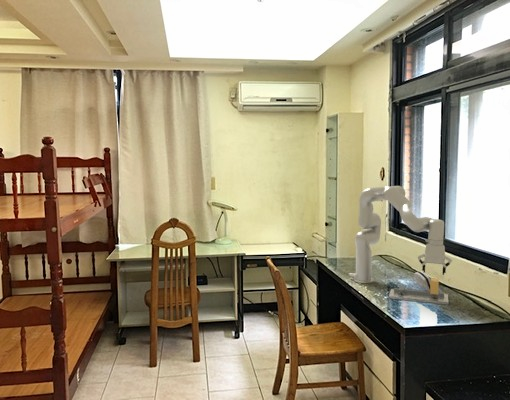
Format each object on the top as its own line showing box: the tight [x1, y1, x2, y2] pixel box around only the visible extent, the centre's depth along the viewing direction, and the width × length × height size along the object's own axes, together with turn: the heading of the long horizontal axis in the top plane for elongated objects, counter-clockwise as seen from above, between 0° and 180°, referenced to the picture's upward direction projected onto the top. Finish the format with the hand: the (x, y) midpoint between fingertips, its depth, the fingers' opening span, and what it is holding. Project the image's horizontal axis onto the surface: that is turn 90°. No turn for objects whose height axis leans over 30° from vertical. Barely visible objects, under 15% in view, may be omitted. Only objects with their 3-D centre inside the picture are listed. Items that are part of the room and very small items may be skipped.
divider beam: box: [393, 285, 445, 297], centre depth 241 cm, size 26×7×3 cm, turn 68°
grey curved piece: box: [413, 270, 431, 291], centre depth 259 cm, size 17×5×10 cm, turn 2°
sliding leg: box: [430, 277, 440, 298], centre depth 237 cm, size 4×7×9 cm, turn 158°
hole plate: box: [388, 288, 450, 306], centre depth 240 cm, size 30×14×2 cm, turn 68°
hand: (433, 273), depth 237 cm, fingers open, 9 cm apart
